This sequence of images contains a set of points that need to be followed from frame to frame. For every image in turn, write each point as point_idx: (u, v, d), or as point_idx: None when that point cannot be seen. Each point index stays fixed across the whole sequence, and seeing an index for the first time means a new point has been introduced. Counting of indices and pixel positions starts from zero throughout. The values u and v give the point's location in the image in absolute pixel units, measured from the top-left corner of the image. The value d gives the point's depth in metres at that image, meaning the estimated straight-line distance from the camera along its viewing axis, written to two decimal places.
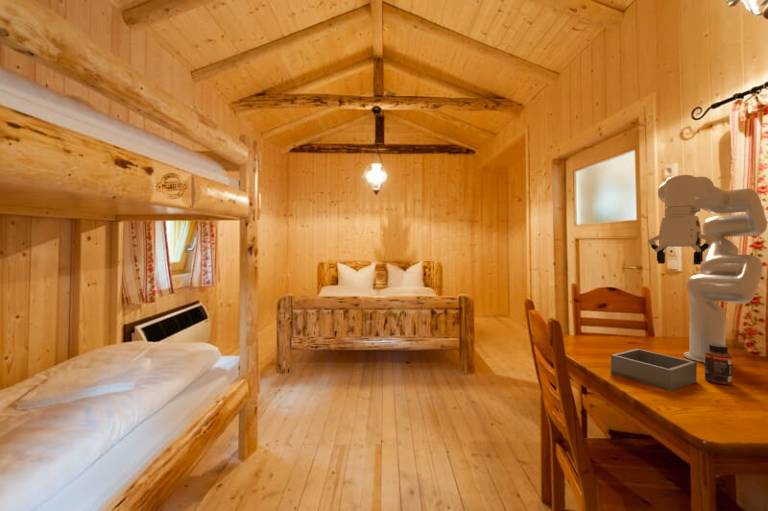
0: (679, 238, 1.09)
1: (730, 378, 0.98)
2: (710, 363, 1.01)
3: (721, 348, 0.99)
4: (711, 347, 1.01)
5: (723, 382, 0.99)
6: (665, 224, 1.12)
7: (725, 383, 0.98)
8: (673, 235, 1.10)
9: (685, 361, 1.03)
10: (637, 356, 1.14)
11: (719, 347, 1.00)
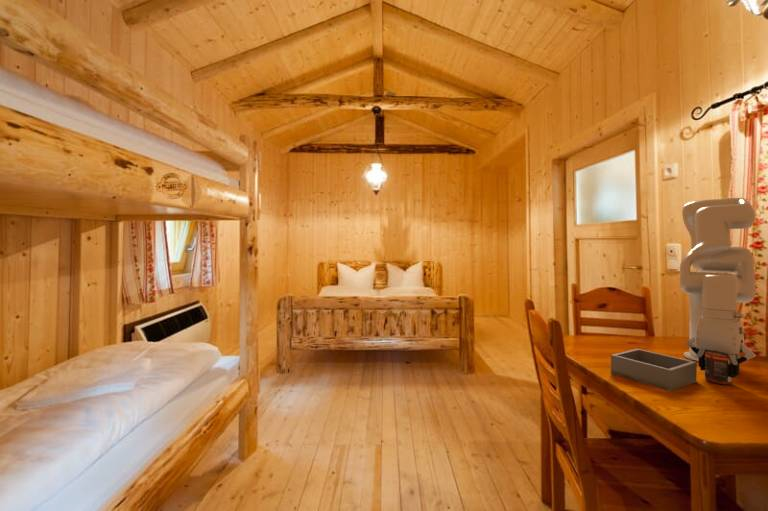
0: (719, 344, 0.99)
1: (730, 378, 0.98)
2: (710, 363, 1.01)
3: None
4: None
5: (723, 382, 0.98)
6: (703, 326, 1.03)
7: (725, 383, 0.98)
8: (713, 339, 1.01)
9: (685, 361, 1.03)
10: (637, 356, 1.14)
11: None
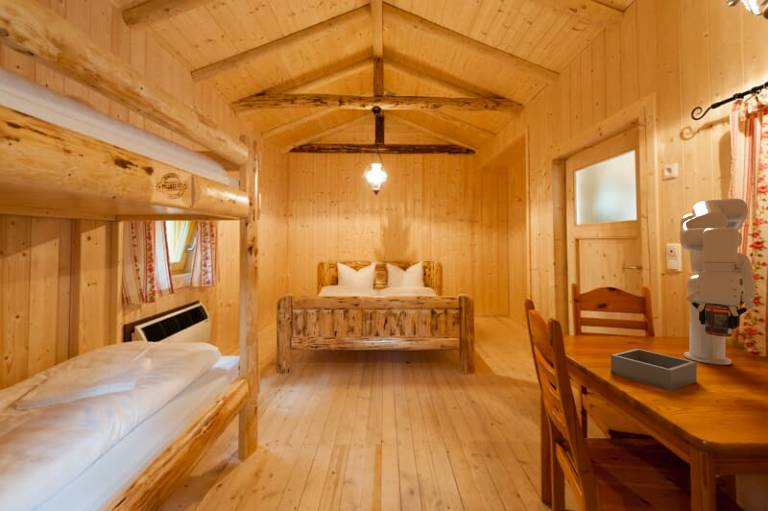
0: (719, 296, 1.00)
1: (730, 330, 0.99)
2: (710, 316, 1.01)
3: None
4: None
5: (723, 334, 0.99)
6: (703, 280, 1.03)
7: (725, 335, 0.99)
8: (713, 292, 1.01)
9: (685, 361, 1.03)
10: (637, 356, 1.14)
11: None
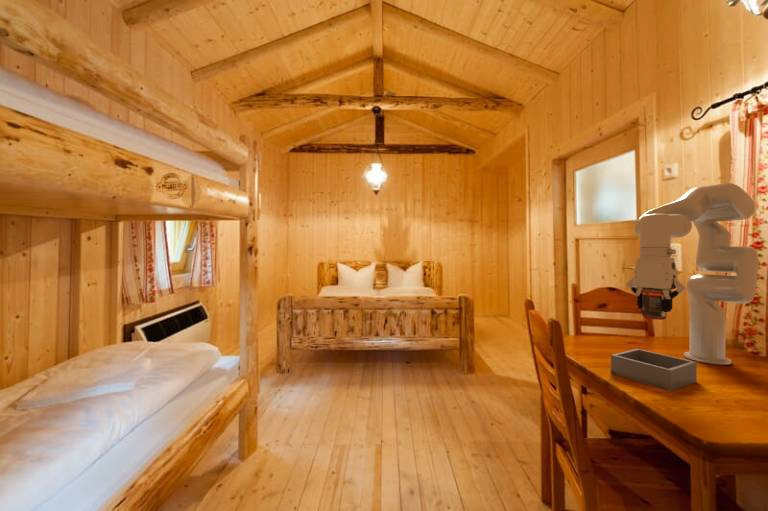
0: (654, 280, 1.03)
1: (664, 313, 1.02)
2: (646, 300, 1.04)
3: None
4: None
5: (657, 317, 1.02)
6: (640, 265, 1.06)
7: (659, 318, 1.02)
8: (648, 276, 1.04)
9: (685, 361, 1.03)
10: (637, 356, 1.14)
11: None
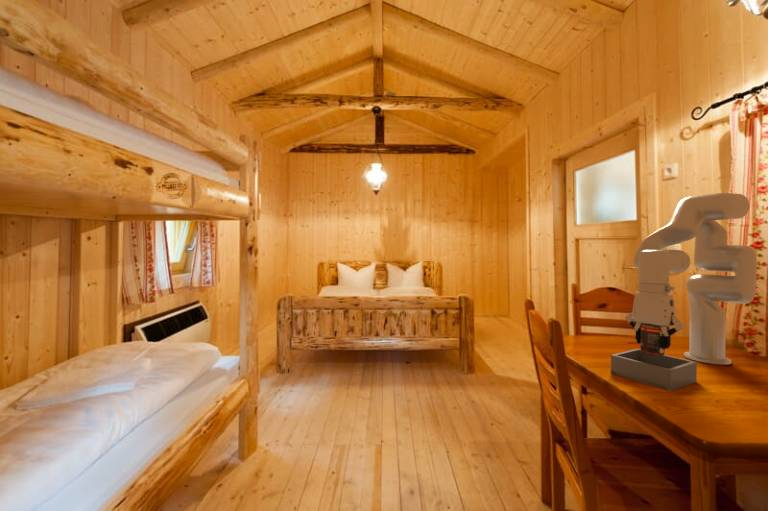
0: (652, 316, 1.03)
1: (662, 349, 1.02)
2: (644, 336, 1.04)
3: None
4: None
5: (655, 353, 1.02)
6: (638, 300, 1.06)
7: (657, 354, 1.02)
8: (647, 312, 1.04)
9: (685, 361, 1.03)
10: (637, 356, 1.14)
11: None
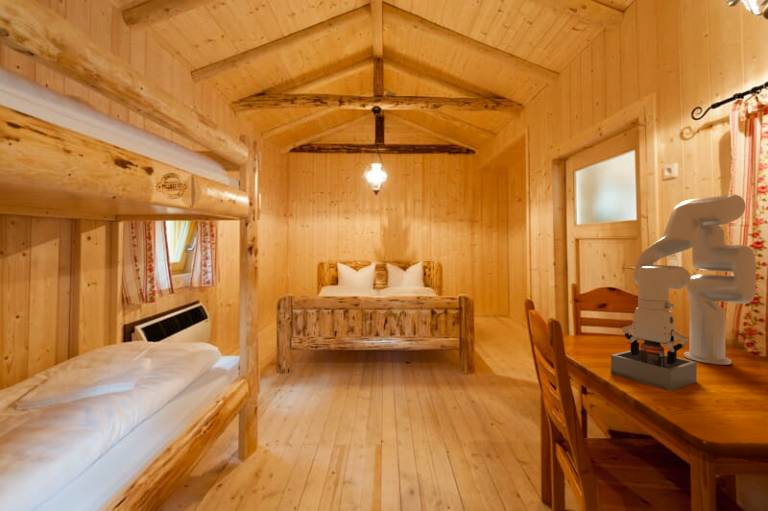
0: (652, 333, 1.03)
1: None
2: (644, 356, 1.04)
3: None
4: (645, 340, 1.05)
5: None
6: (638, 316, 1.06)
7: None
8: (647, 329, 1.04)
9: (685, 361, 1.03)
10: (637, 356, 1.14)
11: None
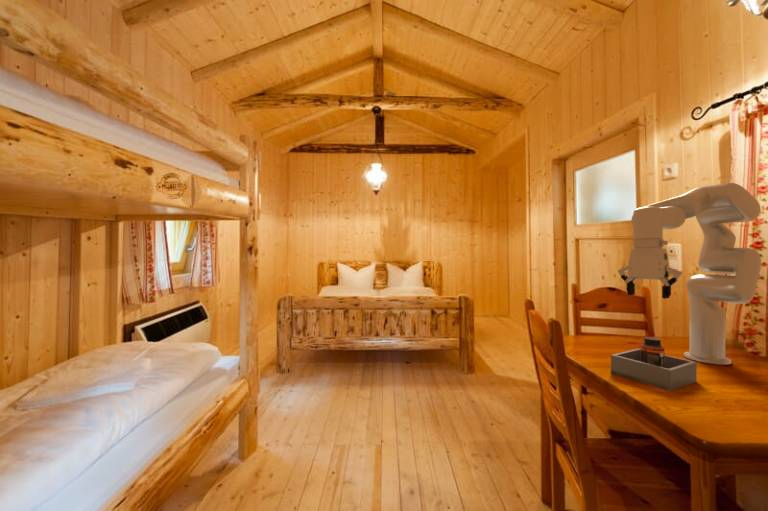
0: (647, 271, 1.07)
1: None
2: (644, 356, 1.04)
3: (654, 342, 1.03)
4: (645, 340, 1.05)
5: None
6: (634, 256, 1.10)
7: None
8: (642, 267, 1.08)
9: (685, 361, 1.03)
10: (637, 356, 1.14)
11: (652, 340, 1.03)
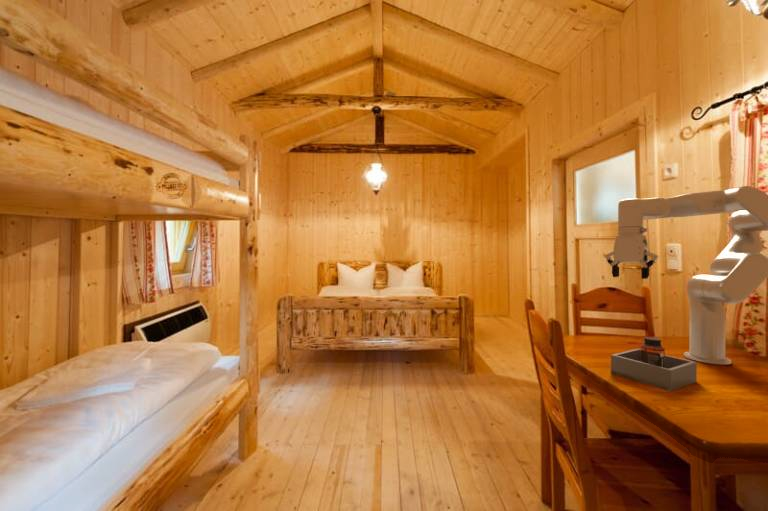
0: (629, 254, 1.22)
1: None
2: (644, 356, 1.04)
3: (654, 342, 1.03)
4: (646, 340, 1.05)
5: None
6: (618, 242, 1.25)
7: None
8: (625, 252, 1.23)
9: (685, 361, 1.03)
10: (637, 356, 1.14)
11: (652, 340, 1.03)
